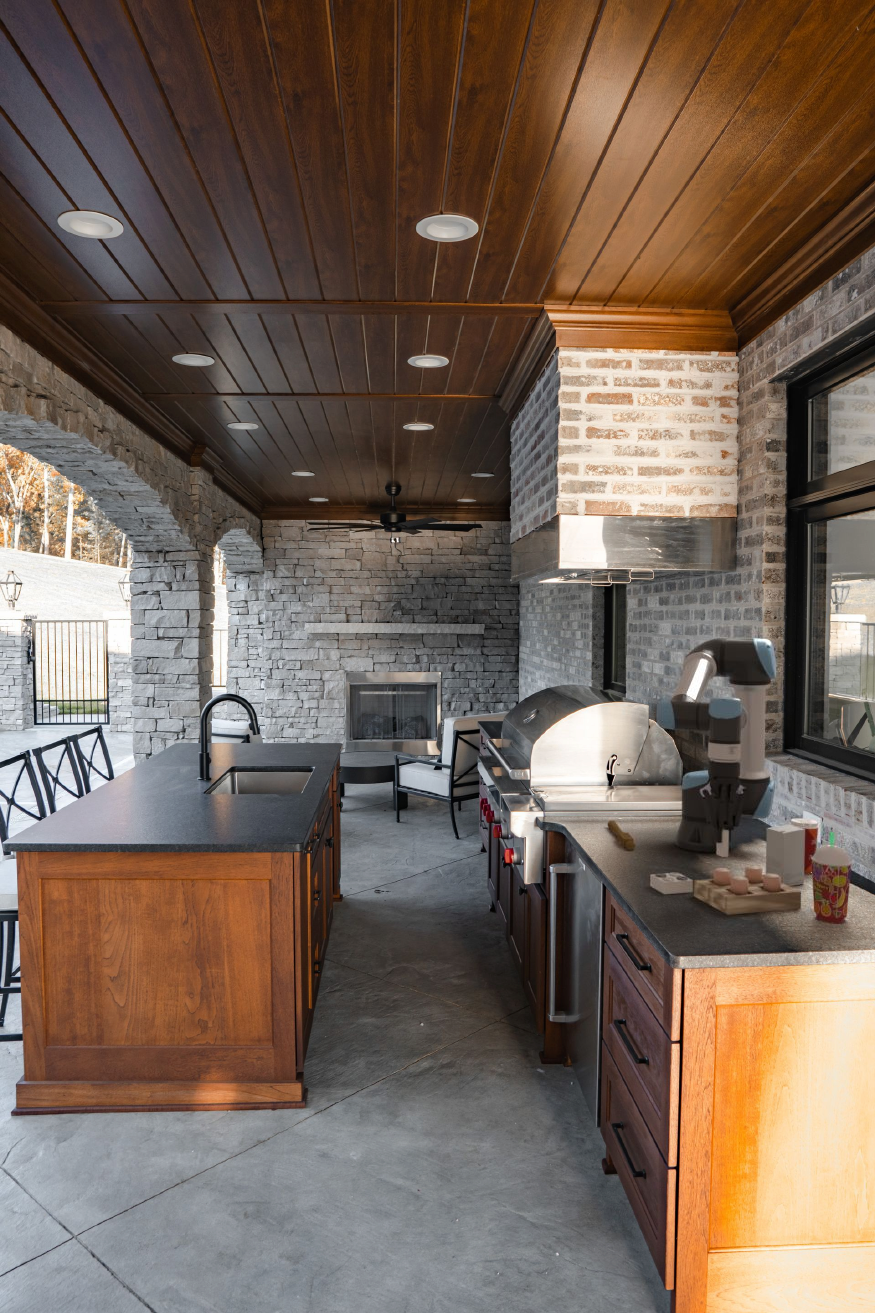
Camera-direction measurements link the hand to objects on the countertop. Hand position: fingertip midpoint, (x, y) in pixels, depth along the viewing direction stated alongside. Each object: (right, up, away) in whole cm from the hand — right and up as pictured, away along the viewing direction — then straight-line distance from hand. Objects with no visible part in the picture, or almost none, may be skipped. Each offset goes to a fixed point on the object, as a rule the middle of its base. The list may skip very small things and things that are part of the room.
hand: (722, 855), depth 201 cm
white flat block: (-10, -11, +8) cm, 17 cm away
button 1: (0, -7, 0) cm, 7 cm away
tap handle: (-12, -10, +61) cm, 62 cm away
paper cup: (+32, -11, +26) cm, 42 cm away
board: (+5, -11, -2) cm, 12 cm away
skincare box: (+21, -11, +14) cm, 28 cm away
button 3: (+9, -7, +3) cm, 12 cm away
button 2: (+2, -7, -6) cm, 10 cm away
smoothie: (+20, -12, -13) cm, 27 cm away
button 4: (+11, -8, -4) cm, 14 cm away
